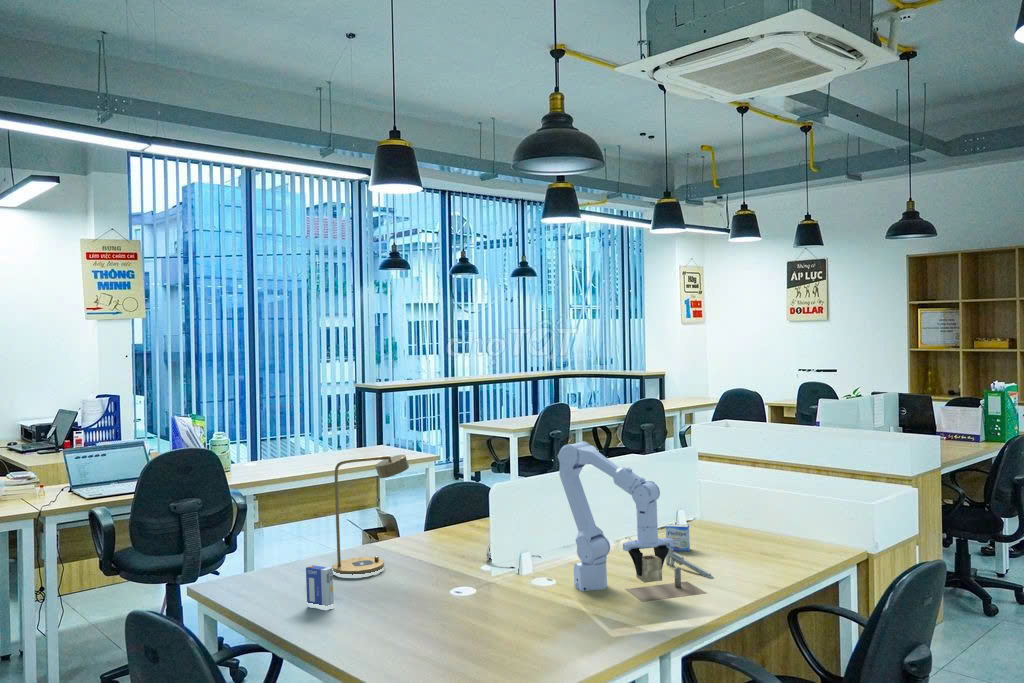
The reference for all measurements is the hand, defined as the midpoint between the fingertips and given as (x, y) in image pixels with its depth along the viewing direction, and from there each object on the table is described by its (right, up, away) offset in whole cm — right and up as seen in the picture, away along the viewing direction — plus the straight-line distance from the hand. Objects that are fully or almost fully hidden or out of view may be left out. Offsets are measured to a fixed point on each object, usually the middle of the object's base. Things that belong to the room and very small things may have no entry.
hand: (649, 573), depth 218 cm
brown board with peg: (+5, -8, +4) cm, 10 cm away
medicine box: (+20, -8, +54) cm, 58 cm away
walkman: (-94, -12, +5) cm, 95 cm away
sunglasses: (-39, -11, +50) cm, 64 cm away
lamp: (-86, -12, +44) cm, 97 cm away
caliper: (+18, -8, +28) cm, 34 cm away
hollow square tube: (0, -1, 0) cm, 1 cm away
